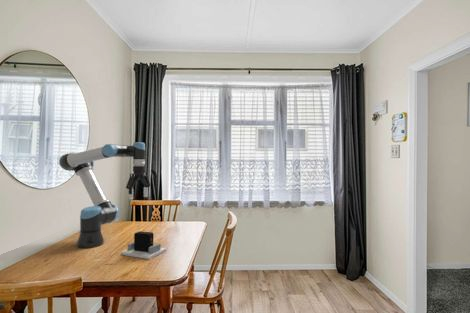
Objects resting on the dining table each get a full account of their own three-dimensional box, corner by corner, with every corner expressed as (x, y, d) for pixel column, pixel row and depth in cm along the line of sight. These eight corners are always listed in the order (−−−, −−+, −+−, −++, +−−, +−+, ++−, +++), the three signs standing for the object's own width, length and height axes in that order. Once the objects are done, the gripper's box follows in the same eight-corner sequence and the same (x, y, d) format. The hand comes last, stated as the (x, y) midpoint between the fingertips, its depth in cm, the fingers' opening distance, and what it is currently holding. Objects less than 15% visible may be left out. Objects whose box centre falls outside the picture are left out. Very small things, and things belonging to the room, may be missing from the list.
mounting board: (120, 254, 156) (121, 245, 156) (139, 246, 170) (139, 238, 170) (149, 259, 148) (149, 249, 149) (166, 250, 162) (166, 242, 162)
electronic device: (149, 252, 155) (149, 234, 155) (133, 250, 158) (134, 232, 158) (153, 249, 159) (153, 232, 159) (138, 248, 162) (138, 231, 162)
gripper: (129, 166, 168) (129, 200, 168) (155, 165, 191) (155, 196, 191) (120, 166, 171) (119, 200, 171) (147, 165, 194) (146, 195, 194)
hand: (138, 198), depth 181 cm, fingers open, 13 cm apart
